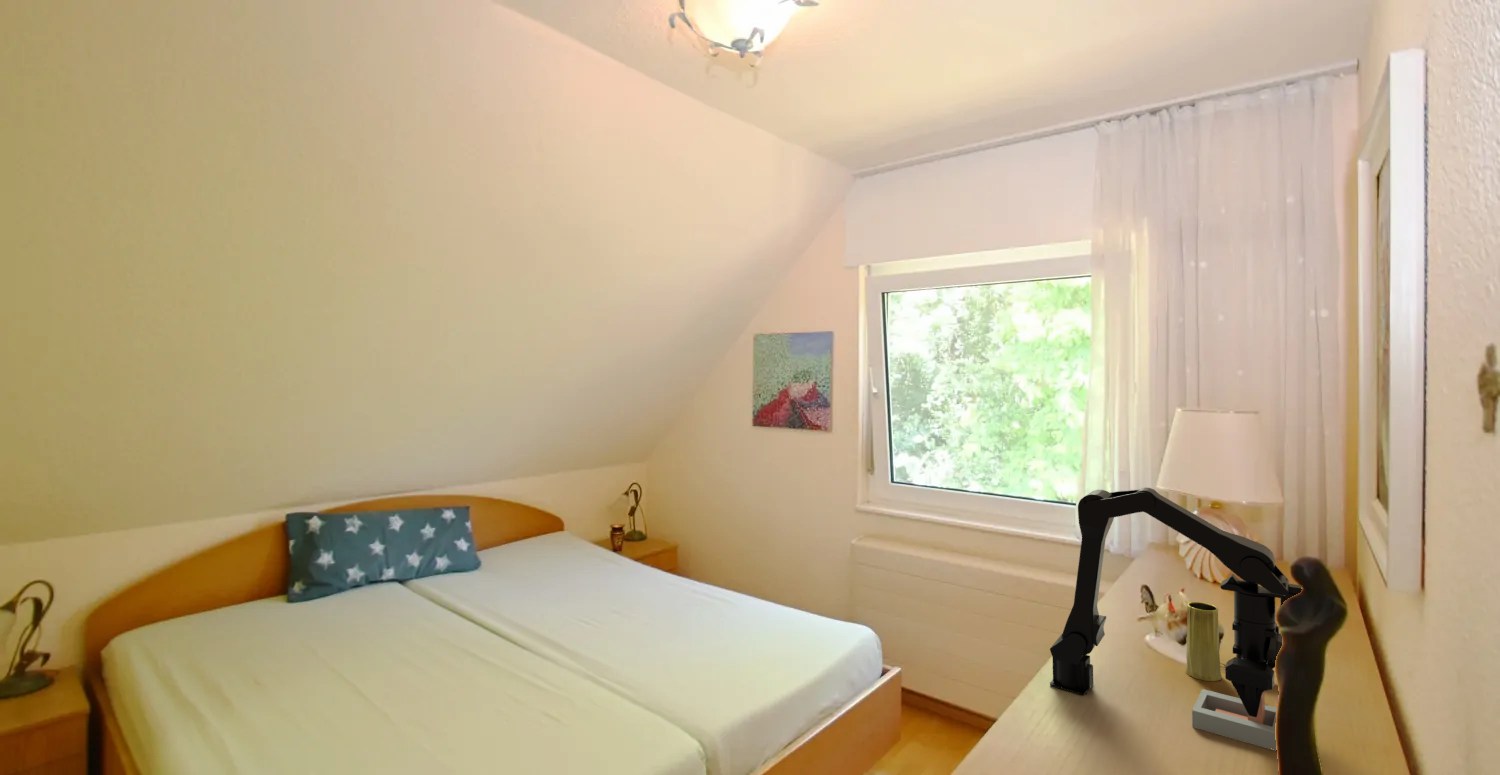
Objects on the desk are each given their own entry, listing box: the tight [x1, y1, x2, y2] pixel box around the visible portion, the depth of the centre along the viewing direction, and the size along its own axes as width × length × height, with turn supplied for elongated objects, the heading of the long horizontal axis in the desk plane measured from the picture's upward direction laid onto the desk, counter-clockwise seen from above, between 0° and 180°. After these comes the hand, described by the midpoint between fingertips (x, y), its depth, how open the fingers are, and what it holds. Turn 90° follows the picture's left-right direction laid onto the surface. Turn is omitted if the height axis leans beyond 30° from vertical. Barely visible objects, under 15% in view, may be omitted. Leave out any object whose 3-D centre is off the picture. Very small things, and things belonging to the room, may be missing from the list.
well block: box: [1191, 688, 1278, 752], centre depth 117 cm, size 12×10×3 cm
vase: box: [1185, 601, 1223, 682], centre depth 136 cm, size 6×6×14 cm
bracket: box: [1215, 691, 1266, 725], centre depth 117 cm, size 7×4×7 cm, turn 47°
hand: (1255, 707), depth 115 cm, fingers open, 7 cm apart
